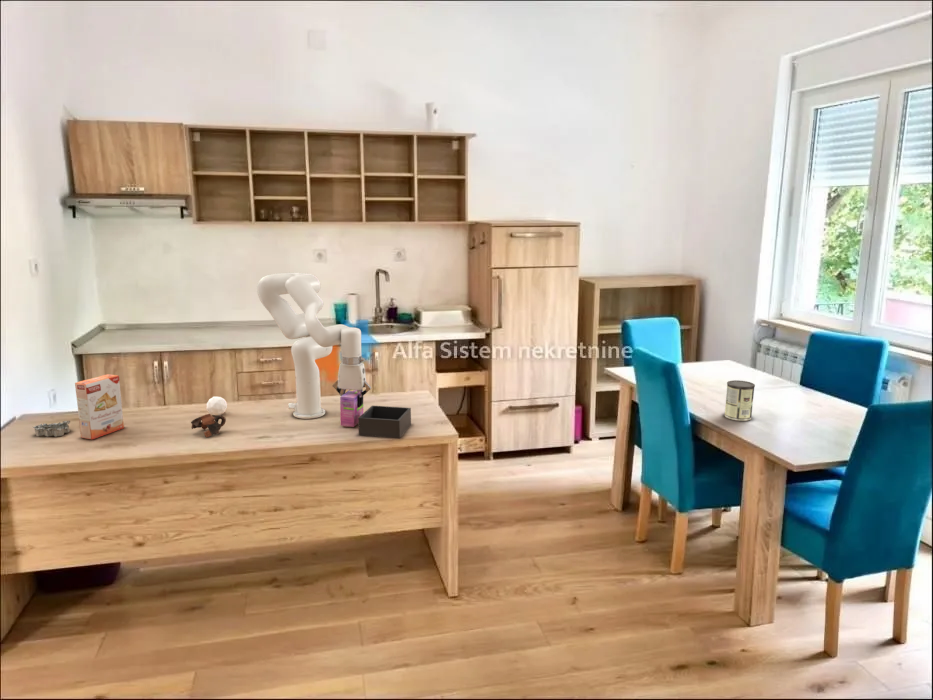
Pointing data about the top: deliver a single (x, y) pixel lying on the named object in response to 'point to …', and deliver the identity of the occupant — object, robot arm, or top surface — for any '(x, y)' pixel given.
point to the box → (350, 409)
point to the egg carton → (52, 429)
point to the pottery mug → (209, 424)
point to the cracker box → (99, 406)
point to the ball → (216, 406)
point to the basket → (384, 421)
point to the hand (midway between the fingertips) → (352, 405)
